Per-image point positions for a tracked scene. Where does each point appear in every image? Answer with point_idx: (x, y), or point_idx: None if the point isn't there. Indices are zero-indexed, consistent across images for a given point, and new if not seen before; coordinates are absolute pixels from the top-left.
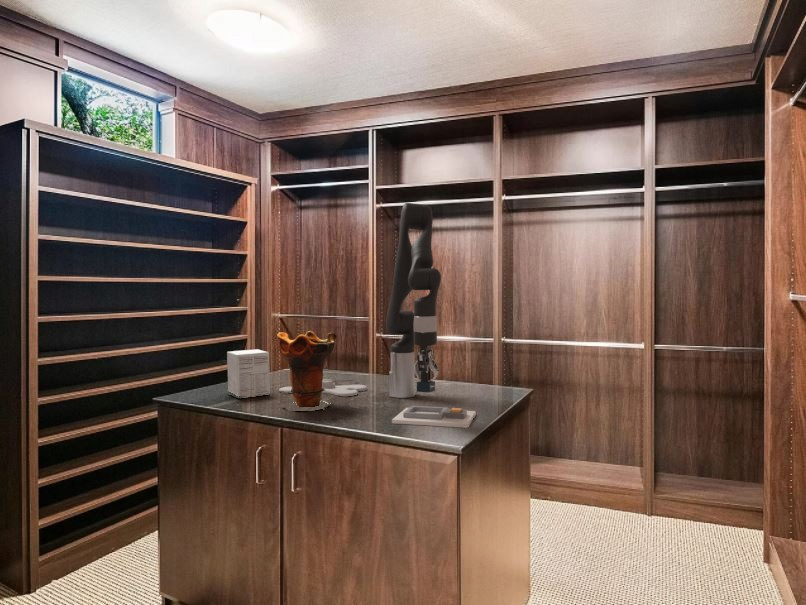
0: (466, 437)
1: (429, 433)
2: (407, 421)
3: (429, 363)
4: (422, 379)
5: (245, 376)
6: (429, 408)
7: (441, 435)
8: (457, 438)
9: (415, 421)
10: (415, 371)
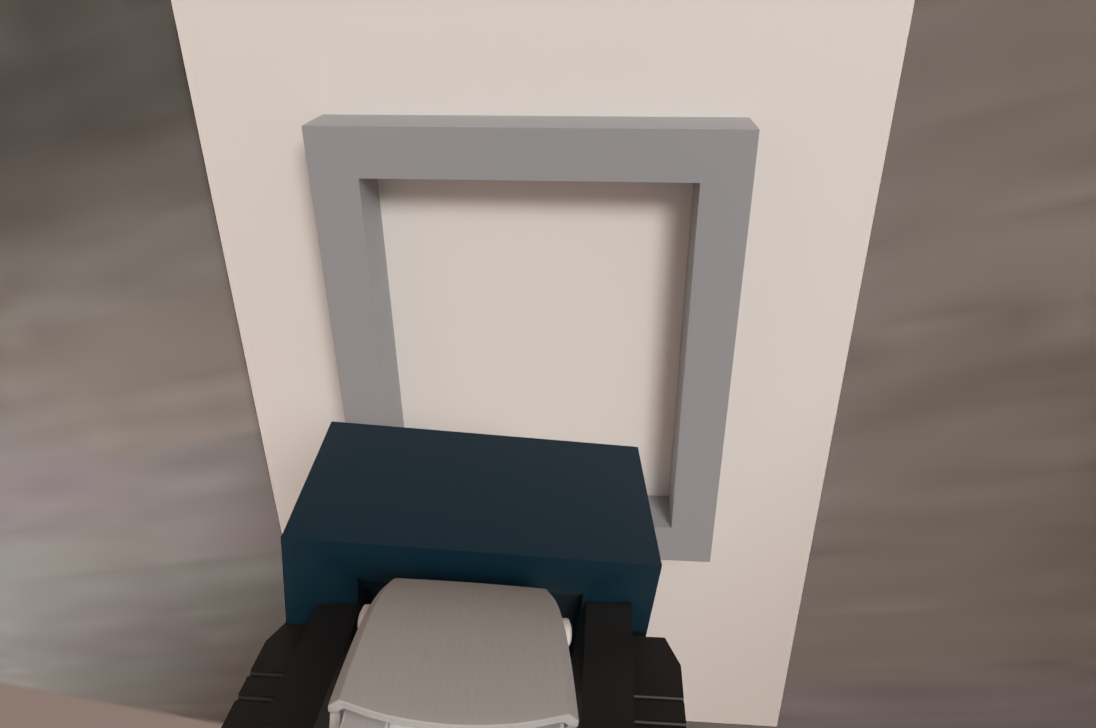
0: (82, 677)
1: (39, 448)
2: (217, 198)
3: None
4: (252, 687)
5: None
6: (684, 377)
7: (37, 535)
8: (28, 633)
9: (233, 290)
10: (344, 673)
